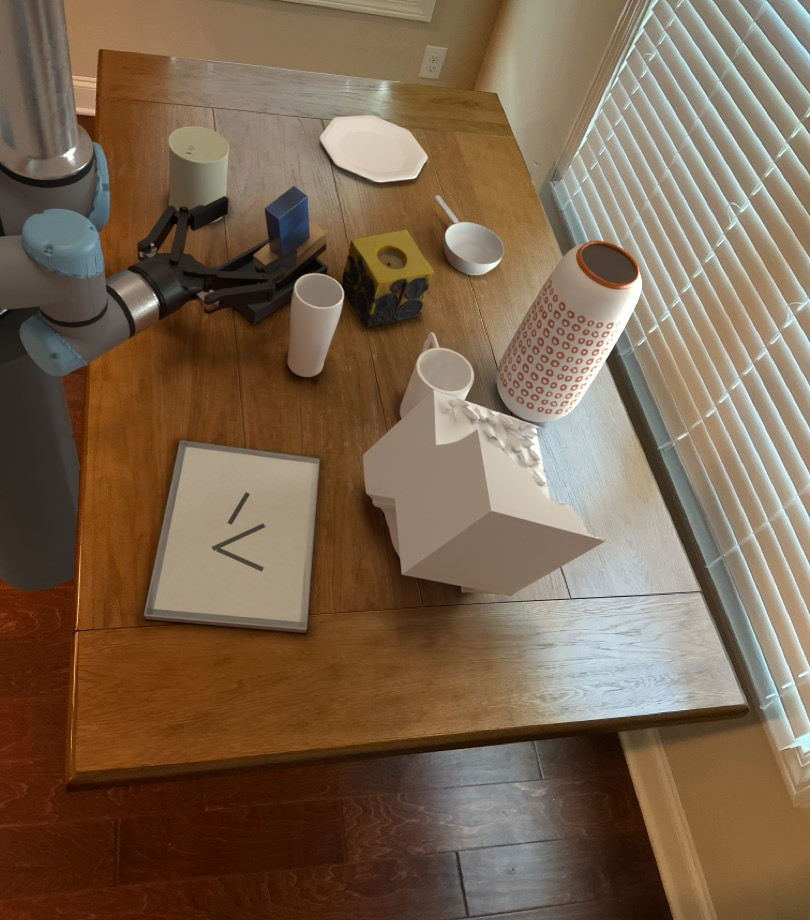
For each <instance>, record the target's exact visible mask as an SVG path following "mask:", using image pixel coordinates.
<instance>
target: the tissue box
mask: <svg viewBox="0 0 810 920" xmlns="http://www.w3.org/2000/svg"><path fill="white" fill-rule="evenodd" d="M537 429H545V427H541V426H539V425H536V424H535V423H532V422H529V421H526V420H523V419H520V418H518V417H517V418H516V417H514V416H511V415H508V414H504V413H502V412H499V411H494V410H492V409H489V408H487V407H485V406H482V405H479V404H476V403H473V402H470V401H467V400H462V399H459V398H456V397H453V396H450V395H447V394H444V393H441V392H439V391H436V390H433V391H431V392H430V393H429V394H428V395H427V396H426V397H425V398H424V399H423V400H422V401H421V402H420V403H419V404H417V405H416V406H415V407H414V408H413V409H412V410H411V411H410V412H409V413H408V414H407V415H406V416H405V417H403V418H401V419H400V420H399V421H398V422H397V423H396V424H394V425H393V427H391V429H389V430H388V431H387V432H386V433H384V435H383V436H382V437H380V439H378V441H377V442H375V443H374V444H373V445H372V446H371V447H370V448H369V449H368V450H366V452H364V453H363V455H362V461H363V464H362V465H363V476H364V477H363V478H364V487H365V494H366V495H367V496H368V497H370V498H371V499H372V502H371V503H372V505H373V506H374V507H377V508H379V509H380V510H381V511H382V512H383V513H384V517H385V521H386V524H387V526H388V529H389V534H390V539H391V543H392V546H393V549H394V550H395V552H396V553H397V556H398V557H399V559H400V569H401V575H402V576H406V577H411V578H412V577H413V578H418V579H423V580H427V581H434V582H439V583H444V584H447V585H454V586H458V587H459V586H460V592H461V593H473V594H490V595H504V596H510V597H511V596H513V595H515V594H516V593H518V592H520V591H521V590H523V589H526V587H529V586H530V585H532V584H534V583H535V582H537V581H539V580H541V579H542V578H544V577H546V576H548V575H550V574H551V573H553V572H555V571H556V570H558V569H560V568H562V567H564V566H565V565H567V564H569V563H571V562H572V561H573V560H575V559H577V558H579V557H581V556H582V555H583V556H584V554H586V553H588V552H590V551H591V550H592V549H595V548H596V547H598V546H601V545H602V544H603V543H605V542H607V539H606V537H603V536H602V537H601V536H595V535H593V534H592V533H590V532H589V531H588V530H587V526H586V525H585V524H584V523H583V519H582V518H581V517H580V516H579V514H578V513H577V512H576V511H575V509H573V508H572V504H571V503H567V502H560V501H559V500H557V499H553V498H551V495H550V490H549V487H548V481H547V477H546V470H545V469H544V462H543V461H544V460H543V456H542V451H541V447H540V442H539V435H538V431H537Z"/></svg>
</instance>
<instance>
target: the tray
mask: <svg viewBox="0 0 810 920" xmlns="http://www.w3.org/2000/svg"><path fill="white" fill-rule="evenodd" d="M268 243H269V239H268V238H267V239H266V240H263V241H262V242H260V243H258V244H257V245H255V246H253V247H251V248H249V249H247V250H246V251H244V252H242V253H240V254H238V255H237V256H235V257H233V258H231V259H229V260H227V261H226V262H224V263H222V264H220V265H219V266H217V267H214V268H215V269H216V270H217V271H231V272H256V271H255V265H254V258H253V255H254V254H255V253H257V252H258V251H259V250H260V249H262V248H263V247H264V246H265V245H267V244H268ZM328 270H329V266H328V265H327V264H325V263H324V262H323V261H322V260H320V259H319V258H318V257H317V258H316V259H314V260H313V261H312V262H311V263H310V264H309V265H307V266H306V267H305V268H304V269H303V270H301V271H300V272H299V273H298V274H297V275H295V276H294V277H293V278H292V279H291V280H289V281H288V282H287V283H286V284H285V285H283V286H282V287H281V288H280V289H279V290H278V289H277V288H276V287H275V294H274V300H273V301H271V302H265V303H258V304H251V305H245V306H238V307H233V309H235V310H236V311H238V313H240V314H241V315H242V316H243V317H245V318H246V319H247V321H249V322H251V324H253V325H255V324H257V323H259V322H260V321H261V320H263V319H264V318H266V317H268V316H269V315H271V314H272V313H274V312H276V311H278V310H279V309H281V308H282V307H284V306H285V305H287V304H288V303H291V300H292V294H293V290H294V285H295V283H296V281H297V280H298V279H299V278H300V277H302V276H304V275H306V274H312V273H318V274H324V275H327V276H328ZM256 273H257V272H256ZM210 283H211V277H207V281H206V284H210ZM258 283H259V282H258Z"/></svg>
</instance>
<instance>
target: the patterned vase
mask: <svg viewBox="0 0 810 920" xmlns="http://www.w3.org/2000/svg"><path fill="white" fill-rule="evenodd" d="M642 286H643V285H642V276H641V273H640V267H639V265H638V263H637V262H636V260H635V258H634V257H633V255H631V254H630V253H629V252H627V251H626V250H625V249H624V248H622V247H621V246H618V245H616V244H614V243H612V242H608V241H604V240H591V241H587V242H584V243H581V244H578V245H576V246H574V247H572V248H571V249H569V250H568V251H567V252H566V253H565V254H564V255H563V257H562V258H560V260H559V261H558V263H557V264H556V265H555V268H554V269H553V270H552V271H551V273H550V275H549V276H548V278H547V279H546V281H545V282H544V283H543V285H542V287H541V288H540V290H539V292H538V293H537V296H536V297H535V299H534V300H533V301H532V304H530V306H529V308H528V310H527V311H526V314H525V315H524V316H523V319H522V320H521V323H520V324H519V326H518V328H517V329H516V331H515V333H514V335H513V337H512V338H511V340H510V342H509V344H508V346H507V347H506V349H505V351H504V353H503V355H502V356H501V358H500V361H499V364H498V367H497V371H496V387H497V392H498V394H499V396H500V398H501V400H502V402H503V403H504V405H505V407H506V409H508V411H510V413H512V414H513V415H514V416H516V417H517V418H518V419H520V420H522V421H525V422H529V423H549V422H555V421H556V420H557V421H558V420H560V419H562V418H564V417H566V416H568V414H570V413H571V412H572V411H573V410H574V409H575V408H576V407H577V406H578V405H579V403H580V401H581V400H582V399H583V397H584V396H585V394H586V392H587V390H588V389H589V387H590V386H591V384H592V382H593V381H594V380H595V378H596V376H597V375H598V374H599V371H600V370H601V368H602V367H603V365H604V363H605V362H606V360H607V359H608V357H609V355H610V354H611V351H612V350H613V349H614V346H615V345H616V344H617V341H618V339H619V337H620V336H621V334H622V332H623V331H624V329H625V327H626V325H627V323H628V322H629V319H630V317H631V315H632V313H633V311H634V309H635V308H636V306H637V303H638V301H639V299H640V295H641V292H642Z"/></svg>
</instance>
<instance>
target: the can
mask: <svg viewBox="0 0 810 920" xmlns="http://www.w3.org/2000/svg"><path fill="white" fill-rule="evenodd" d="M167 145H168V171H169V197H168V206H174V207H175V208H176V210H177V211H179V208H180V207H181V206H185V207H187V208H188V210H190V209H192V208H194V207H196V206H198V205H203V206H205V205H207V204H209V203H211V202H213V201H215V200H217V199H219V198H222V197H224V196H225V197H227V186H228V182H227V181H228V168H229V155H230V154H229V153H230V144H229V142H228V140H227V139H226V138H225V137H224V136H223V135H222V134H221V133H219V132H217V131H215V130H213V129H211V128H207V127H205V126H204V127H203V126H197V125H189V126H183V127H179V128H177V129H174V130H173V131H172V132H171V133H170V134H169V136H168V138H167ZM222 219H223V217H221V218H219V219H217V220H215V221H213V222H211V223H210V224H214V223H216V222H218V221H220V220H222Z"/></svg>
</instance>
